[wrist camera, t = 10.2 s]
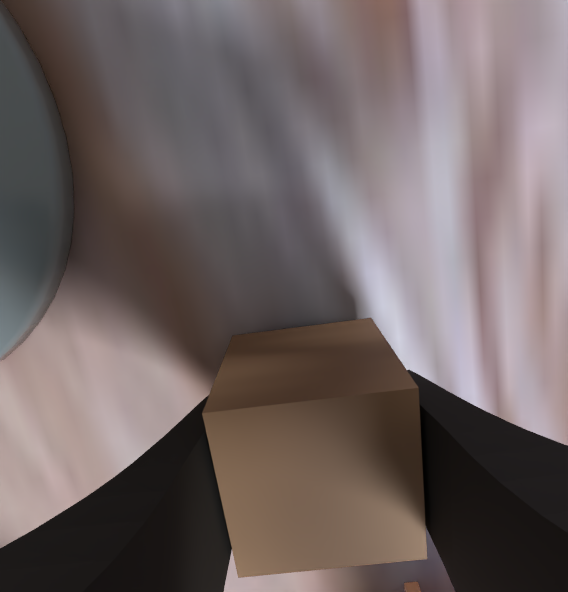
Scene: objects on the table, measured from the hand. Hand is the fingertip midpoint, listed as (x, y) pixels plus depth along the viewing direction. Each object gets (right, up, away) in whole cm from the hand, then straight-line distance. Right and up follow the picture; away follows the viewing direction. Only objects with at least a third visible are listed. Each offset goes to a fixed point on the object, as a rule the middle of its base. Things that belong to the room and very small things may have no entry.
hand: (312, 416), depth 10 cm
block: (0, 0, +1) cm, 1 cm away
